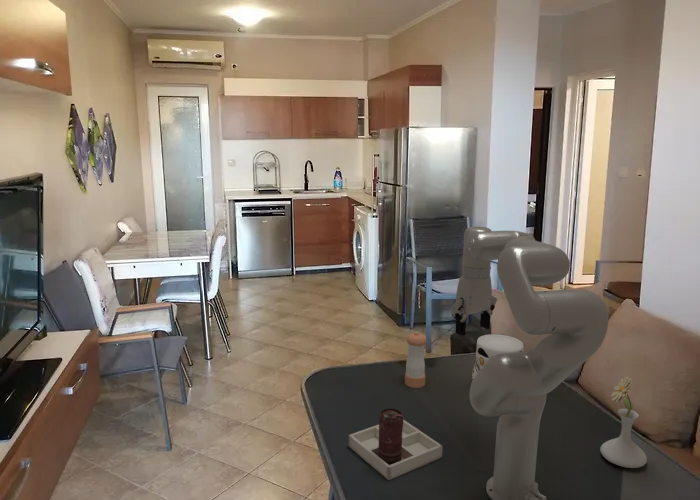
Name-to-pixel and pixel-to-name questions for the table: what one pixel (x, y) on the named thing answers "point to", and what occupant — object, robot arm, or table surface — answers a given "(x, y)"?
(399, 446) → the can
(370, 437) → the divided tray
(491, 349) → the milk container
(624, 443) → the flower in vase
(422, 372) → the pepper shaker
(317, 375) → the table surface
